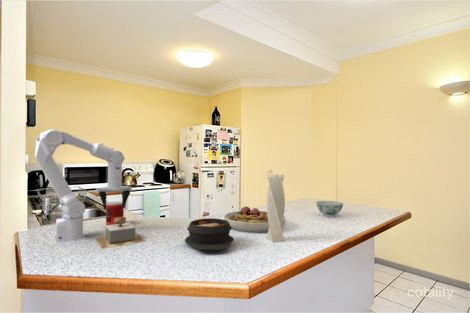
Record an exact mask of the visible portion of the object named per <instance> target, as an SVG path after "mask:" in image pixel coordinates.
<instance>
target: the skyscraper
mask: <svg viewBox="0 0 470 313" xmlns="http://www.w3.org/2000/svg"><path fill="white" fill-rule="evenodd" d="M266 178H267V181H268V187H267V192H266V212H267V216H268V222H269V231H268V232H267V235H266V239H267V240H269V241H271V242H272V243H277V242H285V237H284V232H283V229H282V228H283V226H282V222H283V217H284V216H285V208H286V196H285V189H284V183H283V182H284V178H285V175H284V174H281V175H280V174H273V171H272V170H269V171H268V173H267V177H266ZM281 226H282V227H281Z"/></svg>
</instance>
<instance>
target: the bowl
mask: <svg viewBox="0 0 470 313" xmlns="http://www.w3.org/2000/svg"><path fill="white" fill-rule="evenodd" d="M223 220H226V221H228V222H229V224H230V226H231V227H232V229H231V230H235V231H238V232H244V233H245V232H246V233H268V231H269V222H268V216H267V211H263V210H262V211H261V210H259V209H258V208H257V207H254V208H252V209H251V208H250V207H249V206H243V207H242V208H240V210H239V211H232V212H229V213H226V214H225V215H224V216H223ZM285 223H286V216H285V215H284V217H283V222H282V226H281V228H283V227H284V225H285Z"/></svg>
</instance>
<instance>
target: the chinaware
mask: <svg viewBox="0 0 470 313" xmlns="http://www.w3.org/2000/svg"><path fill="white" fill-rule="evenodd" d="M315 203H316V207H317V208H318V211H319V212H320V213H321V214H323V216H324V217H328V218H334V217H335V218H336V215H338V214H340V212H341V211H342V209H343V206H344V202H340V201H333V200H318V201H316V202H315Z"/></svg>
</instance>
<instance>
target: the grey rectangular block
mask: <svg viewBox="0 0 470 313" xmlns="http://www.w3.org/2000/svg"><path fill="white" fill-rule="evenodd" d="M135 232H136V225H135V224H132V223H131V222H126V223H125V224H122V227H119V224H114V225H106V224H105V235H104V237H105V239H106V240H107V241H108V243H109V244H116V243H122V242H129V241H135Z"/></svg>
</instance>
